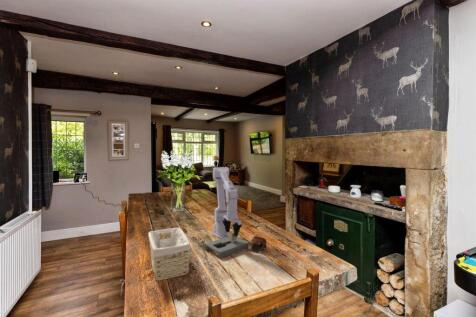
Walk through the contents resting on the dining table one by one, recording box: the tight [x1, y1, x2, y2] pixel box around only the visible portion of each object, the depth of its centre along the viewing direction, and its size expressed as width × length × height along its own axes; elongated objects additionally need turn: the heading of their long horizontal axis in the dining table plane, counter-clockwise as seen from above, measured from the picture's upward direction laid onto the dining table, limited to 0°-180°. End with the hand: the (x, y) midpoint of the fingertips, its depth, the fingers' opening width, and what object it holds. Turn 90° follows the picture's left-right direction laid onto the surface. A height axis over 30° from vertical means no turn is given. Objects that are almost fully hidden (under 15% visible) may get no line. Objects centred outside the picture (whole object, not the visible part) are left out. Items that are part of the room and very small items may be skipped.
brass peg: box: [228, 230, 238, 243], centre depth 135 cm, size 4×4×9 cm
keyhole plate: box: [204, 236, 250, 260], centre depth 133 cm, size 20×14×4 cm
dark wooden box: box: [249, 235, 267, 254], centre depth 132 cm, size 12×10×8 cm
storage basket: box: [147, 227, 191, 281], centre depth 112 cm, size 24×16×15 cm
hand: (231, 234), depth 135 cm, fingers open, 7 cm apart
